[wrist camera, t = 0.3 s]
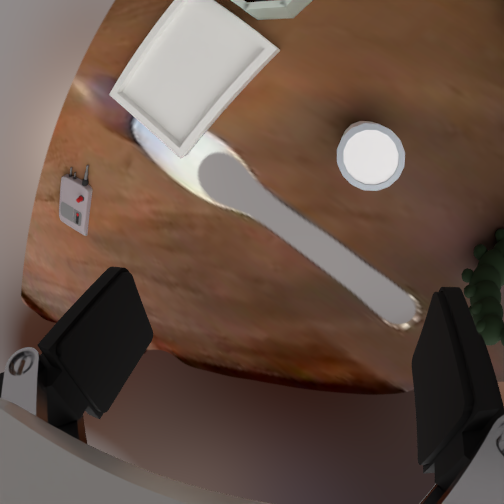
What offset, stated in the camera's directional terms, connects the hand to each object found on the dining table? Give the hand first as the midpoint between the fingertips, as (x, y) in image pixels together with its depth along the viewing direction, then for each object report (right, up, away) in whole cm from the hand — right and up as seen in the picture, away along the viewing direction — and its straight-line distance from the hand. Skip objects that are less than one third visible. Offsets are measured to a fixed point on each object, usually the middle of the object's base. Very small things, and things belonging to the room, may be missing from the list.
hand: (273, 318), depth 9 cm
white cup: (+12, +14, +25) cm, 31 cm away
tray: (-8, +24, +24) cm, 35 cm away
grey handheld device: (-31, +11, +40) cm, 52 cm away
